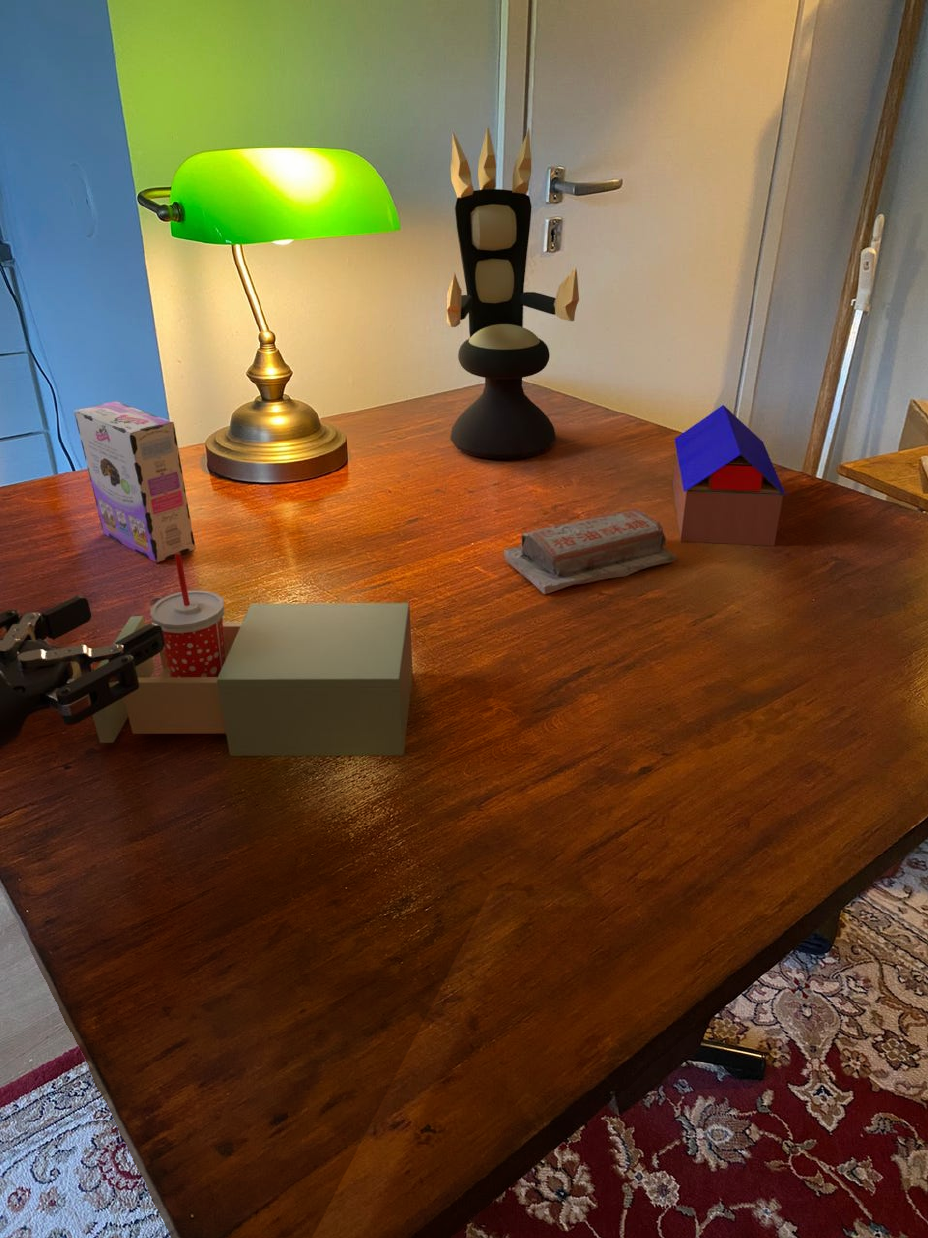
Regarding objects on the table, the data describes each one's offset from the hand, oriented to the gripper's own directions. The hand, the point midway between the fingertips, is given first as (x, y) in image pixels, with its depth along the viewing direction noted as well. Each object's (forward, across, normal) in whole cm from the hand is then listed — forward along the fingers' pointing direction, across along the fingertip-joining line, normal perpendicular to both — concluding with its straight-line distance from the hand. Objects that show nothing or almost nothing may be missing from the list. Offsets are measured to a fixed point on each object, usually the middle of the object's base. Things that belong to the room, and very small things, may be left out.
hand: (122, 620), depth 72 cm
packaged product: (+52, -17, +13) cm, 56 cm away
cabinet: (+12, -10, +13) cm, 20 cm away
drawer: (+5, +2, +12) cm, 13 cm away
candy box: (+30, +34, +13) cm, 47 cm away
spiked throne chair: (+85, +14, +13) cm, 87 cm away
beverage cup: (+6, 0, +11) cm, 13 cm away
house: (+74, -26, +13) cm, 80 cm away
